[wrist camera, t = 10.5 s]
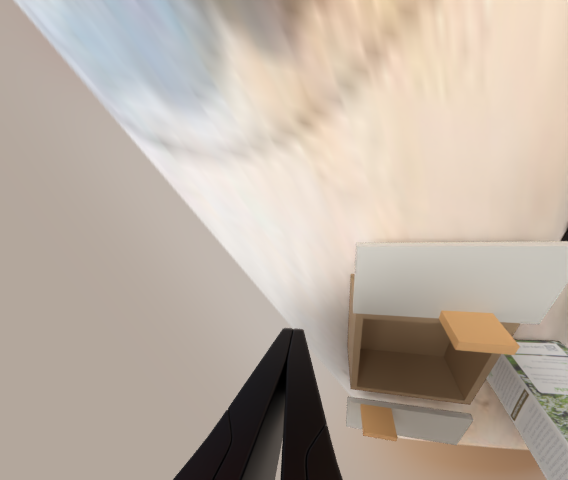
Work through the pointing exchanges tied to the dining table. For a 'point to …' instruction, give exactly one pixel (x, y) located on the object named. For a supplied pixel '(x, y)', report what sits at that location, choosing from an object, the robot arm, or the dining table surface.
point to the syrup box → (537, 400)
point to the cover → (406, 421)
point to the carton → (413, 358)
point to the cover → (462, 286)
